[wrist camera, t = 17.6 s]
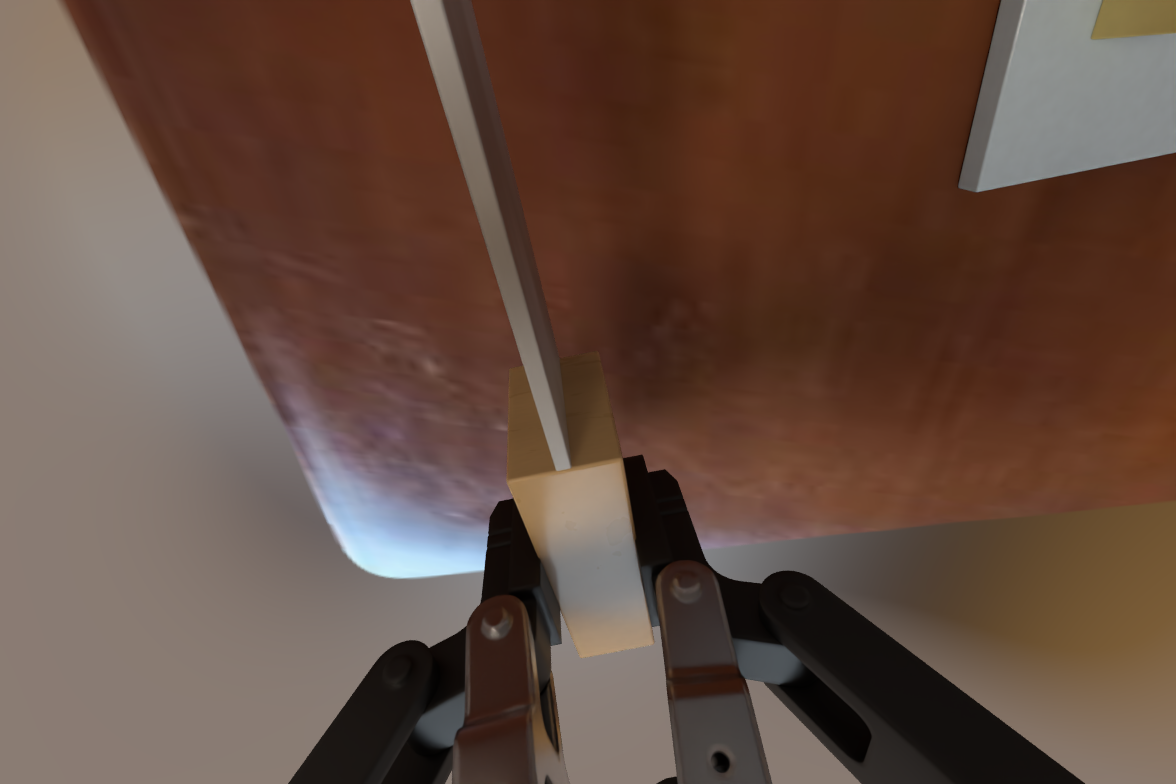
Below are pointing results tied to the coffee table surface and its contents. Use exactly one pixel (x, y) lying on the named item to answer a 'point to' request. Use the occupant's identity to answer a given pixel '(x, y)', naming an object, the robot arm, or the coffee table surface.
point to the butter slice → (1135, 18)
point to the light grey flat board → (1067, 97)
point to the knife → (543, 374)
